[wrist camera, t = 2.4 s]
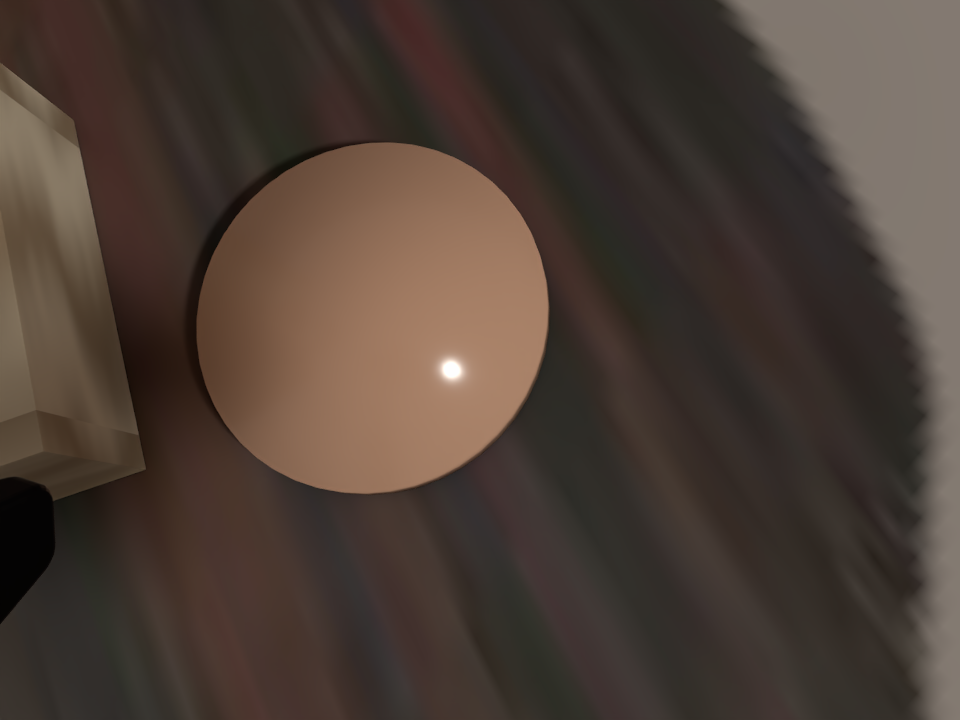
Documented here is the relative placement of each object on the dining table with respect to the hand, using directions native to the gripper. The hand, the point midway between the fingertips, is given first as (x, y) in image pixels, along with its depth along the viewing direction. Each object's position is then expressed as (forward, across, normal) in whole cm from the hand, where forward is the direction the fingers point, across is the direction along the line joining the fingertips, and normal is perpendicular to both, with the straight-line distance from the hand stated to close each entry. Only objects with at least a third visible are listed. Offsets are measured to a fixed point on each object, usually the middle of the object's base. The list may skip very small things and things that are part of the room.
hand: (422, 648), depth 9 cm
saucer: (+14, +6, +3) cm, 16 cm away
